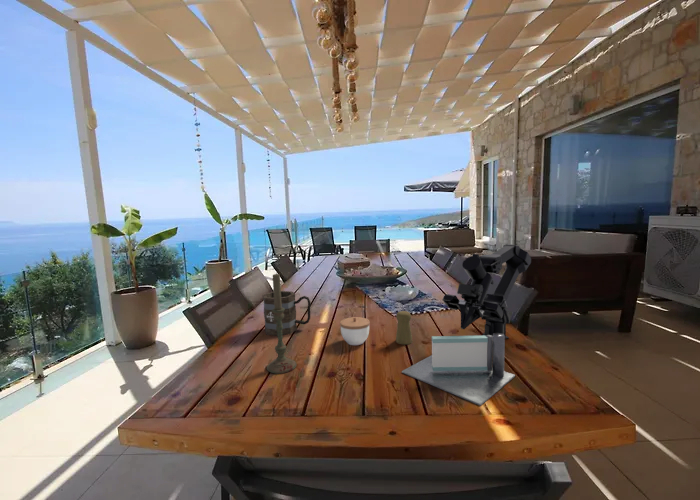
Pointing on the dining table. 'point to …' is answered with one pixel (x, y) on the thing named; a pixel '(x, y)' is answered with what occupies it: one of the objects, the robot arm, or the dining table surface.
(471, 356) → the gate
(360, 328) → the lidded jar
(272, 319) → the mug
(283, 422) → the dining table surface
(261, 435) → the dining table surface
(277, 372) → the candlestick holder
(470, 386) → the gate post
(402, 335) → the olive green shaker
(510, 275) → the robot arm
